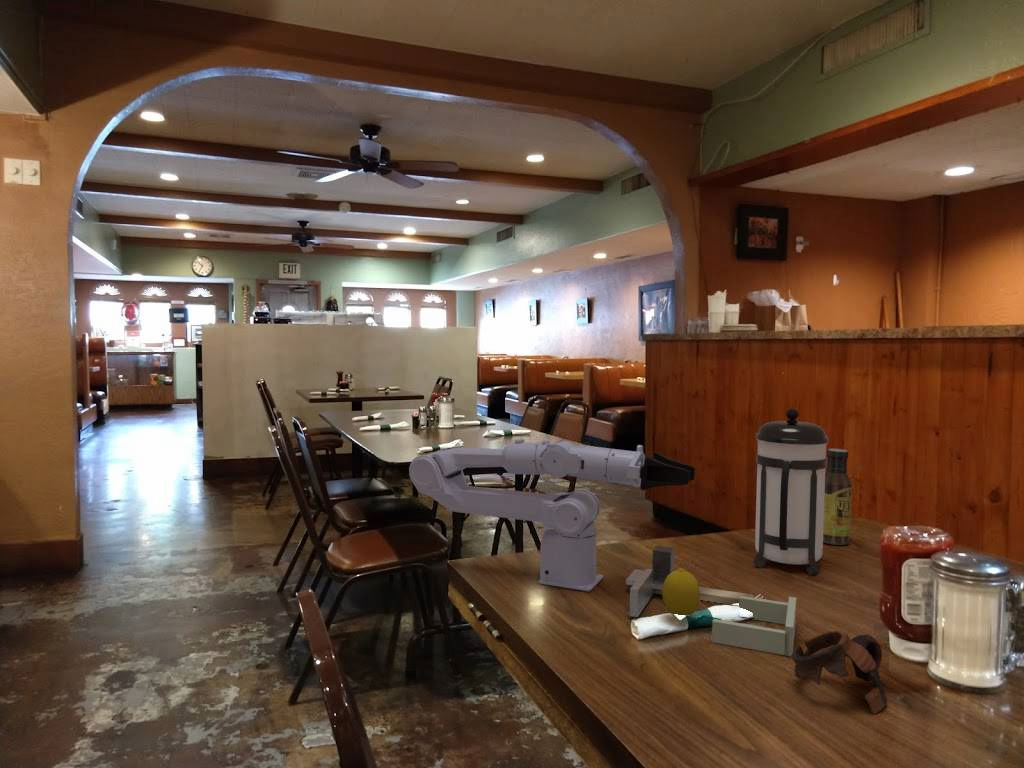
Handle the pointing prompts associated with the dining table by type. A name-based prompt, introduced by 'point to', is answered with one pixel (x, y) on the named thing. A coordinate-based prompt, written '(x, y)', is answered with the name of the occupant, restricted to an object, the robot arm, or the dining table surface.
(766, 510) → the coffee press
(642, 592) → the slider
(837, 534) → the sauce bottle
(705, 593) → the rail
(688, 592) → the lemon
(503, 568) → the dining table surface
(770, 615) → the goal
